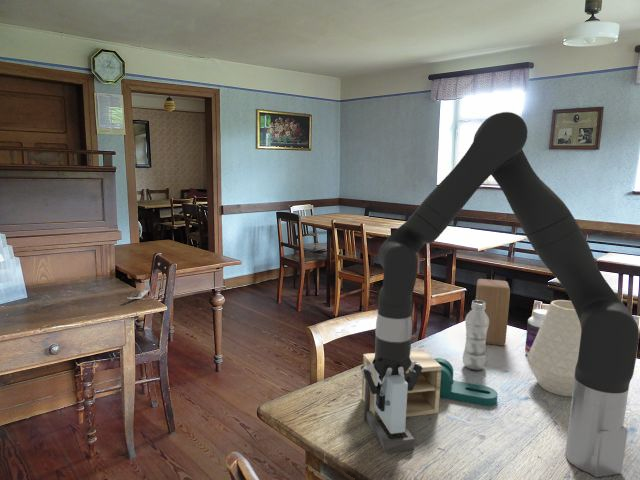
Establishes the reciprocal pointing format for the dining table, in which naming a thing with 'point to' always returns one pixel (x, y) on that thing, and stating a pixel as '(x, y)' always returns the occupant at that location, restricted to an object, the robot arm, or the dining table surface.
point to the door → (394, 404)
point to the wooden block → (495, 308)
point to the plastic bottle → (476, 336)
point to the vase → (556, 349)
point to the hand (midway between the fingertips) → (389, 408)
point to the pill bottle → (534, 327)
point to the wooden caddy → (418, 400)
